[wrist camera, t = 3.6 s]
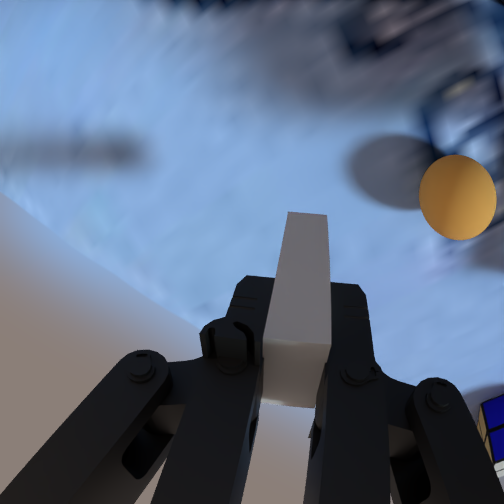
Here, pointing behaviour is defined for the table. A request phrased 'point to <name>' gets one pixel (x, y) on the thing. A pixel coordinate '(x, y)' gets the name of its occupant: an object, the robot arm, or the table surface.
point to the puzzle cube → (493, 431)
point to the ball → (457, 197)
